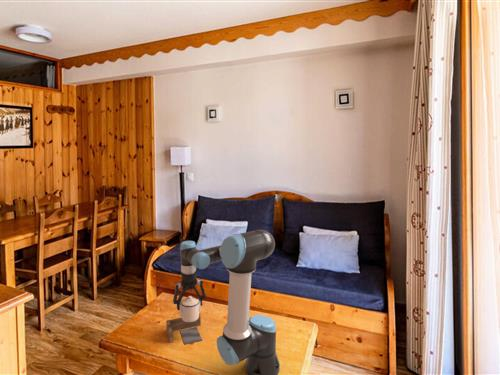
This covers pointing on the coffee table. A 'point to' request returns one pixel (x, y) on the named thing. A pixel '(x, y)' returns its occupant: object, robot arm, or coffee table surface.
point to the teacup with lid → (190, 309)
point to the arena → (187, 334)
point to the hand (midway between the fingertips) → (190, 313)
